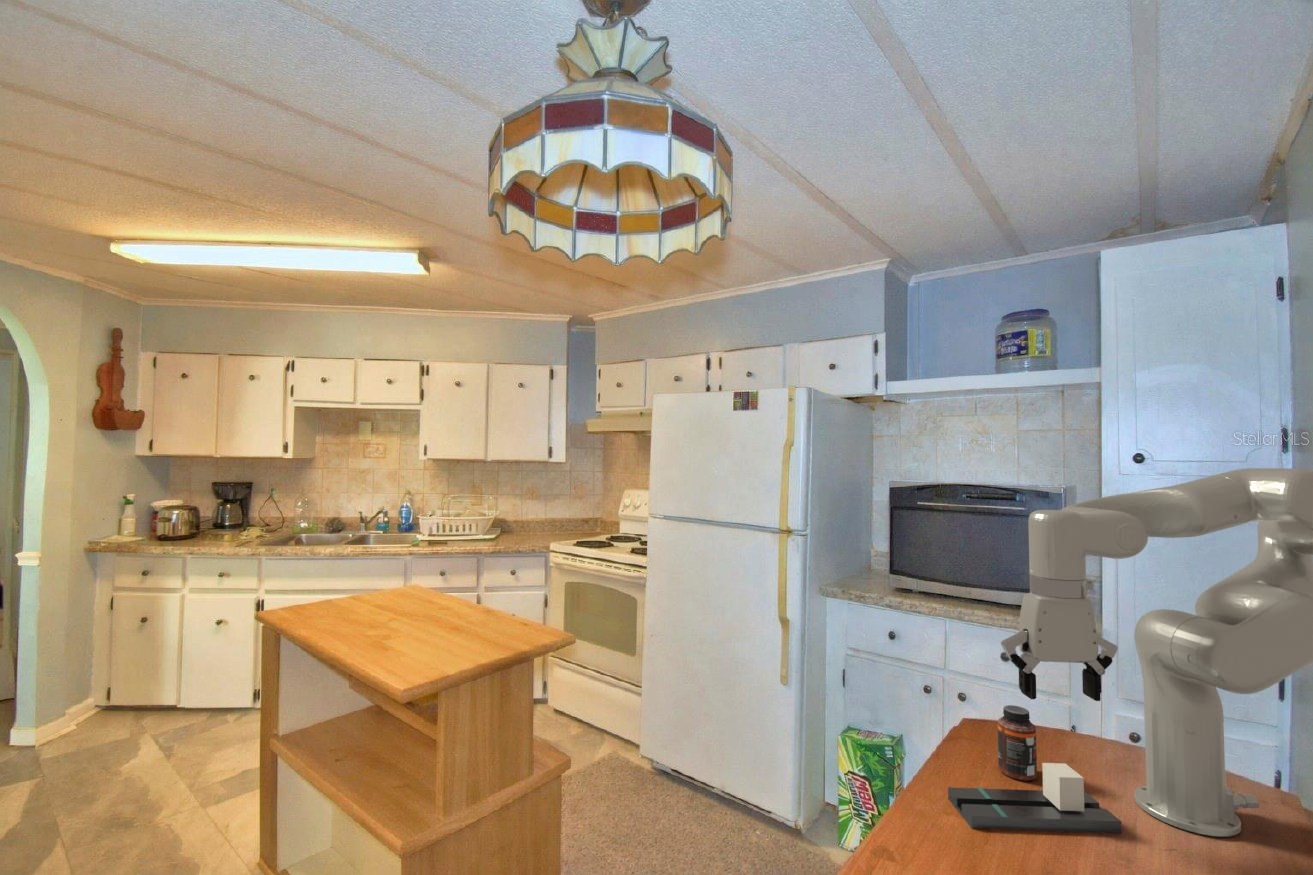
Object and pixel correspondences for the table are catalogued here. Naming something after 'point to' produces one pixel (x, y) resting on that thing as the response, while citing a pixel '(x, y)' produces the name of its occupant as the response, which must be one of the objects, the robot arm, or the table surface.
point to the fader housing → (1028, 811)
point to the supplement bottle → (1017, 744)
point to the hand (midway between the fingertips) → (1059, 696)
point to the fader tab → (1063, 786)
